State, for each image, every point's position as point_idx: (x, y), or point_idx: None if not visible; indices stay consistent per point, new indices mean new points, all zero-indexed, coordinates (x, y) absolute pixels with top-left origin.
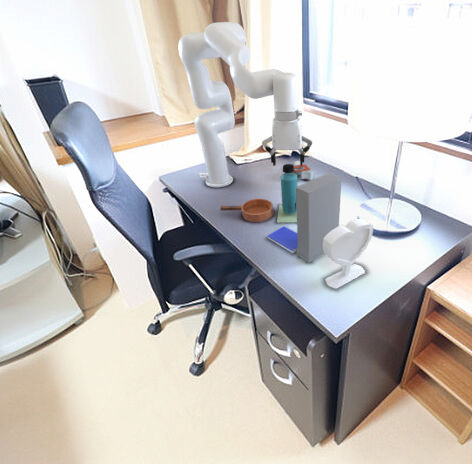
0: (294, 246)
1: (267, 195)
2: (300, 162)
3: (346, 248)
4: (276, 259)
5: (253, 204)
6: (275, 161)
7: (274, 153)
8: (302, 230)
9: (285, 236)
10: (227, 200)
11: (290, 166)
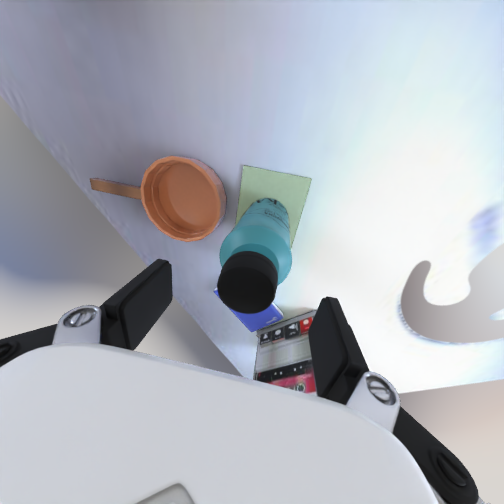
0: (255, 327)
1: (209, 81)
2: (311, 349)
3: None
4: (228, 329)
5: (171, 164)
6: (164, 287)
7: (121, 323)
8: None
9: None
10: (94, 99)
11: (256, 304)
